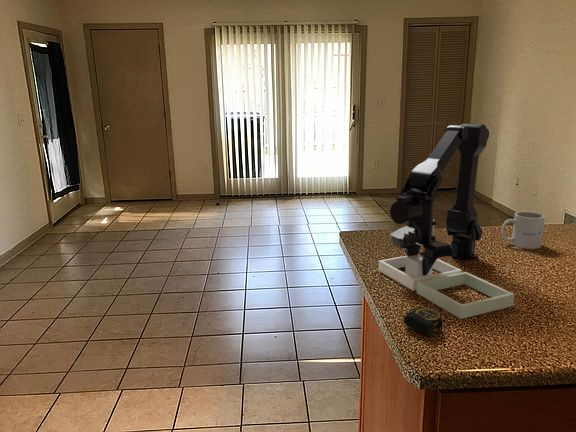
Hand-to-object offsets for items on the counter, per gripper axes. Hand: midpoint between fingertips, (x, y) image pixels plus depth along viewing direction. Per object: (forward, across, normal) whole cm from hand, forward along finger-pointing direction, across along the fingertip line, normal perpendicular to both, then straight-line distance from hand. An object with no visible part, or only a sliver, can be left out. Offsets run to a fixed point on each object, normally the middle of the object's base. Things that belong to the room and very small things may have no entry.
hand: (418, 271), depth 131 cm
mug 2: (+1, -8, +47) cm, 48 cm away
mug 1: (+1, -25, +22) cm, 33 cm away
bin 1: (+1, 0, 0) cm, 1 cm away
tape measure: (+2, +26, -19) cm, 32 cm away
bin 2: (+1, +17, 0) cm, 17 cm away
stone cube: (+1, 0, 0) cm, 1 cm away
